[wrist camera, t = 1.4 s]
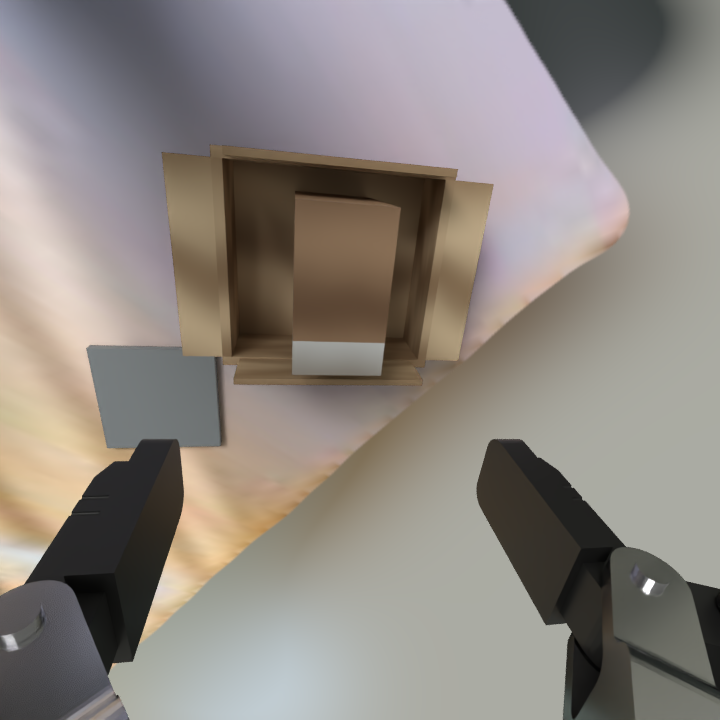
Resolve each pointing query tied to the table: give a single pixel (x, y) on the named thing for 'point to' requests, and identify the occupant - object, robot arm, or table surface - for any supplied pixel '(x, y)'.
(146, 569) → the robot arm
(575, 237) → the table surface
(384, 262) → the walnut block
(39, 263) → the table surface
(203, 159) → the kraft carton
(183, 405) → the felt mat
